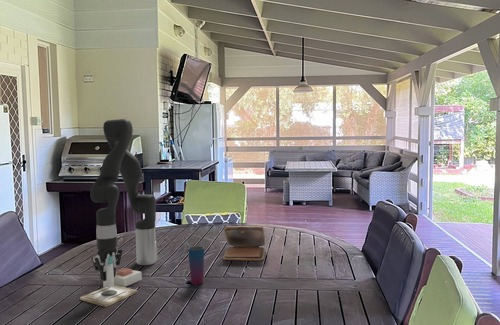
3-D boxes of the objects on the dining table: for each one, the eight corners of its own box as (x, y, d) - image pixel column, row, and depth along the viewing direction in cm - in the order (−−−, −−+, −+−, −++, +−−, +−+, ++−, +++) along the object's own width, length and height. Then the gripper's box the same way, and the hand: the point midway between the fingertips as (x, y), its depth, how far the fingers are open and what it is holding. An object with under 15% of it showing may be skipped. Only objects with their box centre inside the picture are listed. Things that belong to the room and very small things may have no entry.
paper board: (112, 286, 190) (112, 283, 190) (137, 292, 183) (136, 289, 183) (80, 299, 176) (80, 296, 176) (105, 307, 169) (105, 303, 169)
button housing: (124, 275, 203) (124, 268, 202) (141, 279, 198) (141, 271, 197) (107, 283, 194) (107, 274, 194) (124, 287, 189) (124, 278, 189)
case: (266, 249, 242) (265, 219, 241) (263, 261, 222) (262, 229, 220) (228, 249, 244) (227, 219, 243) (221, 261, 224) (220, 229, 222)
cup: (190, 286, 190) (189, 250, 188) (187, 280, 196) (187, 246, 195) (206, 284, 191) (205, 249, 190) (203, 278, 198) (203, 245, 196)
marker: (109, 282, 182) (107, 253, 181) (116, 284, 180) (115, 254, 179) (100, 286, 178) (99, 256, 177) (108, 288, 176) (107, 257, 175)
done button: (124, 274, 199) (124, 267, 198) (131, 275, 196) (131, 269, 196) (116, 277, 195) (116, 270, 195) (124, 278, 193) (124, 272, 192)
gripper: (113, 230, 185) (115, 272, 187) (85, 238, 173) (86, 282, 175) (127, 232, 181) (128, 275, 183) (98, 241, 169) (100, 286, 171)
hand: (108, 278), depth 179 cm, fingers closed on marker, 4 cm apart
